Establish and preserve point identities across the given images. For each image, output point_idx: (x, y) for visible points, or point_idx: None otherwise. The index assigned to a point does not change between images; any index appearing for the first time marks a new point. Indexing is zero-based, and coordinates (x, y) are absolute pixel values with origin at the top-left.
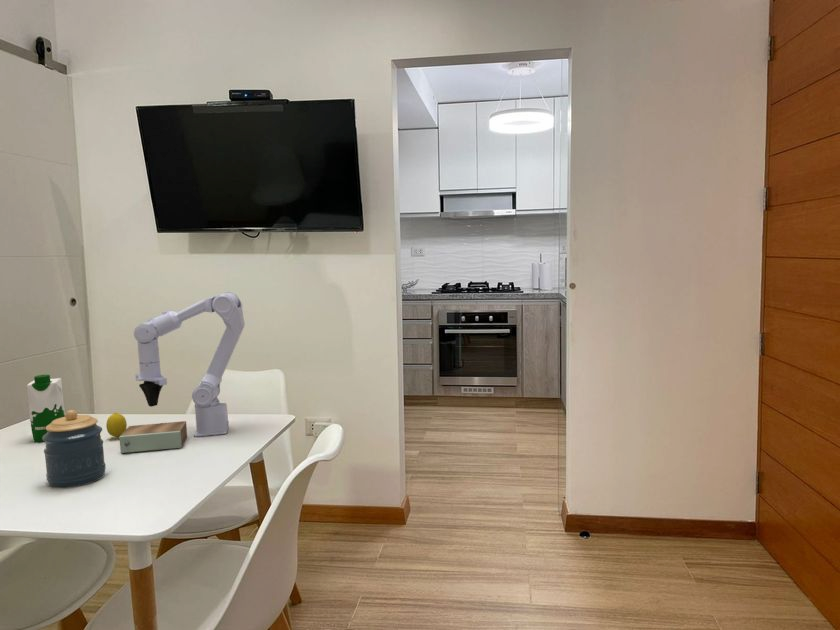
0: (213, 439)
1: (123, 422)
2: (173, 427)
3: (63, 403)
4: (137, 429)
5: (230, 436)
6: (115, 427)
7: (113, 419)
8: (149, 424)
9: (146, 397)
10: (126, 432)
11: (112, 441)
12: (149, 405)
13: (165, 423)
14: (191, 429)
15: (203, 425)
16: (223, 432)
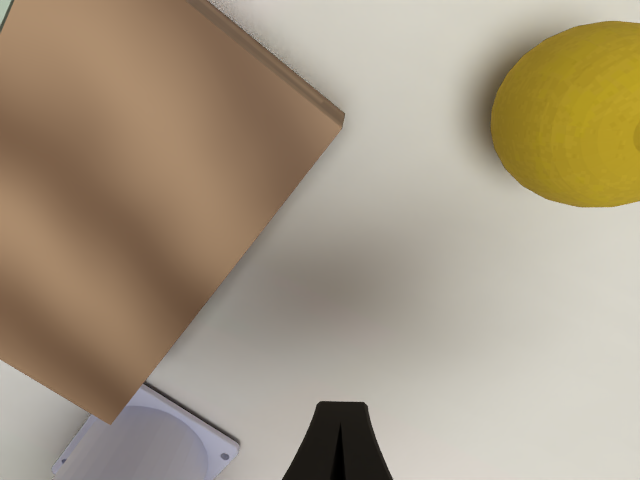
0: (19, 396)
1: (515, 156)
2: (4, 305)
3: None
4: (162, 119)
5: (10, 454)
6: (517, 71)
7: (580, 69)
8: (235, 252)
9: (364, 476)
10: (138, 2)
11: (496, 42)
12: (341, 406)
13: (162, 330)
14: (282, 434)
15: (76, 451)
16: (59, 466)
